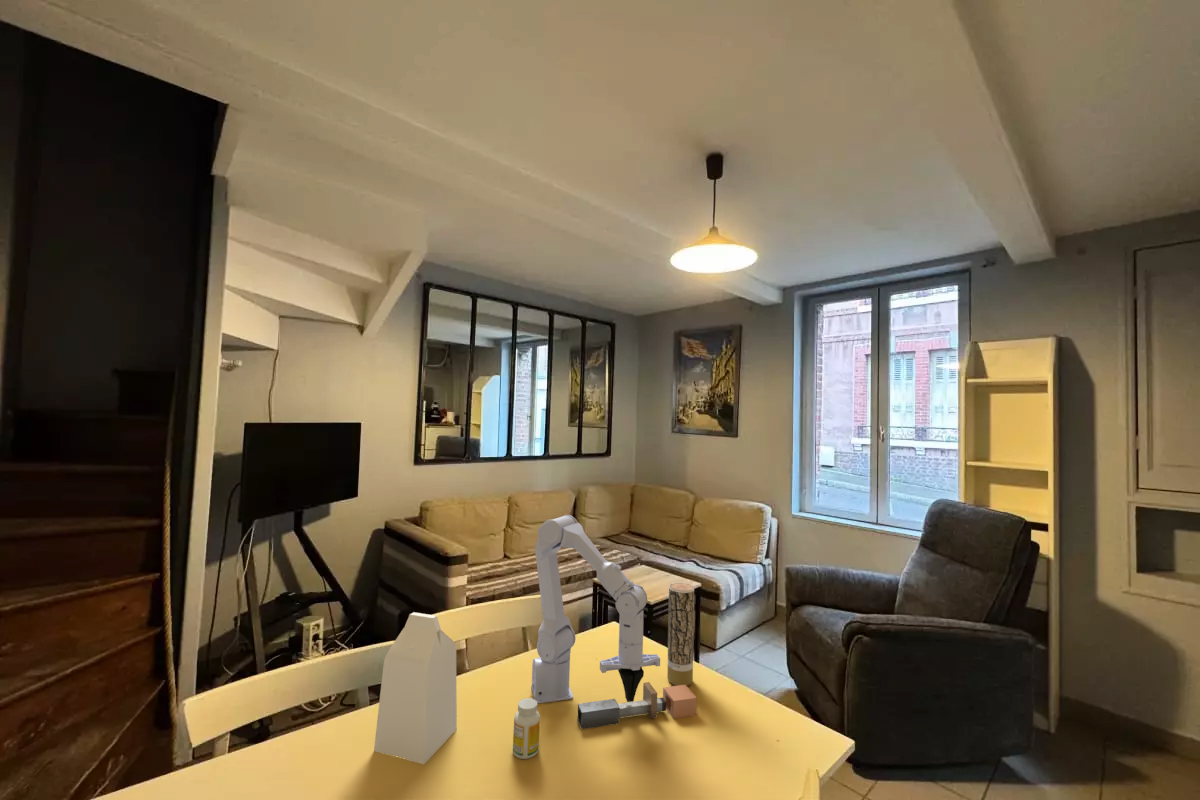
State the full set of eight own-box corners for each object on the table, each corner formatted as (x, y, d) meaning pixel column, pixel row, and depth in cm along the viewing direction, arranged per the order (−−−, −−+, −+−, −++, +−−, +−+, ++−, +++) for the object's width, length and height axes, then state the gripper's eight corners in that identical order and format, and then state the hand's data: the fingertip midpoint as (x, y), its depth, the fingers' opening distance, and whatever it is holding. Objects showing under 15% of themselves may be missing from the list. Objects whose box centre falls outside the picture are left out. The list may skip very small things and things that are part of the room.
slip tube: (590, 727, 106) (591, 702, 107) (585, 714, 111) (585, 690, 111) (668, 715, 112) (669, 691, 112) (660, 703, 116) (660, 680, 117)
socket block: (673, 718, 111) (673, 700, 112) (662, 704, 117) (663, 687, 117) (696, 715, 113) (696, 697, 113) (684, 701, 119) (685, 684, 119)
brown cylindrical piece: (685, 690, 124) (687, 592, 125) (662, 681, 128) (664, 586, 129) (697, 680, 129) (698, 586, 131) (674, 672, 133) (676, 581, 135)
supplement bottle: (511, 760, 96) (513, 711, 96) (513, 743, 101) (515, 696, 102) (538, 759, 96) (540, 710, 97) (539, 742, 102) (540, 695, 102)
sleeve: (581, 729, 106) (581, 712, 107) (577, 719, 110) (578, 703, 110) (619, 723, 109) (619, 707, 109) (614, 714, 112) (614, 698, 113)
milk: (456, 729, 105) (462, 609, 107) (424, 764, 94) (431, 629, 96) (410, 719, 108) (416, 602, 110) (373, 751, 97) (381, 621, 99)
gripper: (606, 650, 107) (605, 713, 106) (665, 644, 111) (664, 704, 110) (598, 637, 114) (596, 696, 113) (654, 631, 118) (653, 688, 117)
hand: (629, 699), depth 112 cm, fingers closed
